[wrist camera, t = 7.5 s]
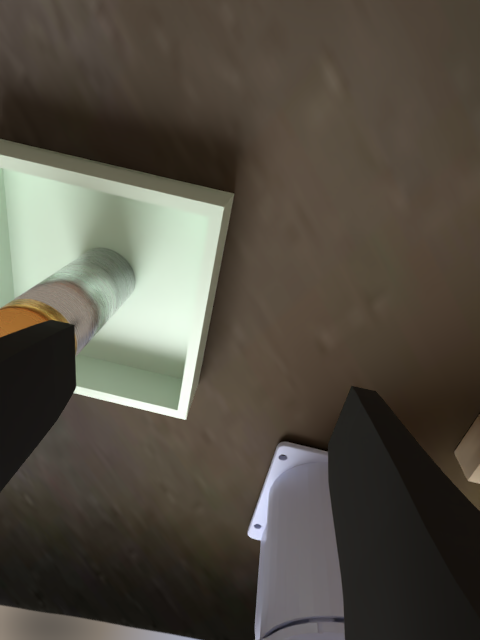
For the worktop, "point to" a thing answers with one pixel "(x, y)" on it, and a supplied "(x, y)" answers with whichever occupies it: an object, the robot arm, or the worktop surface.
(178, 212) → the tray
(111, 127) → the worktop surface
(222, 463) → the worktop surface
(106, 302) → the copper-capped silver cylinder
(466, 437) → the plate
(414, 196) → the worktop surface
